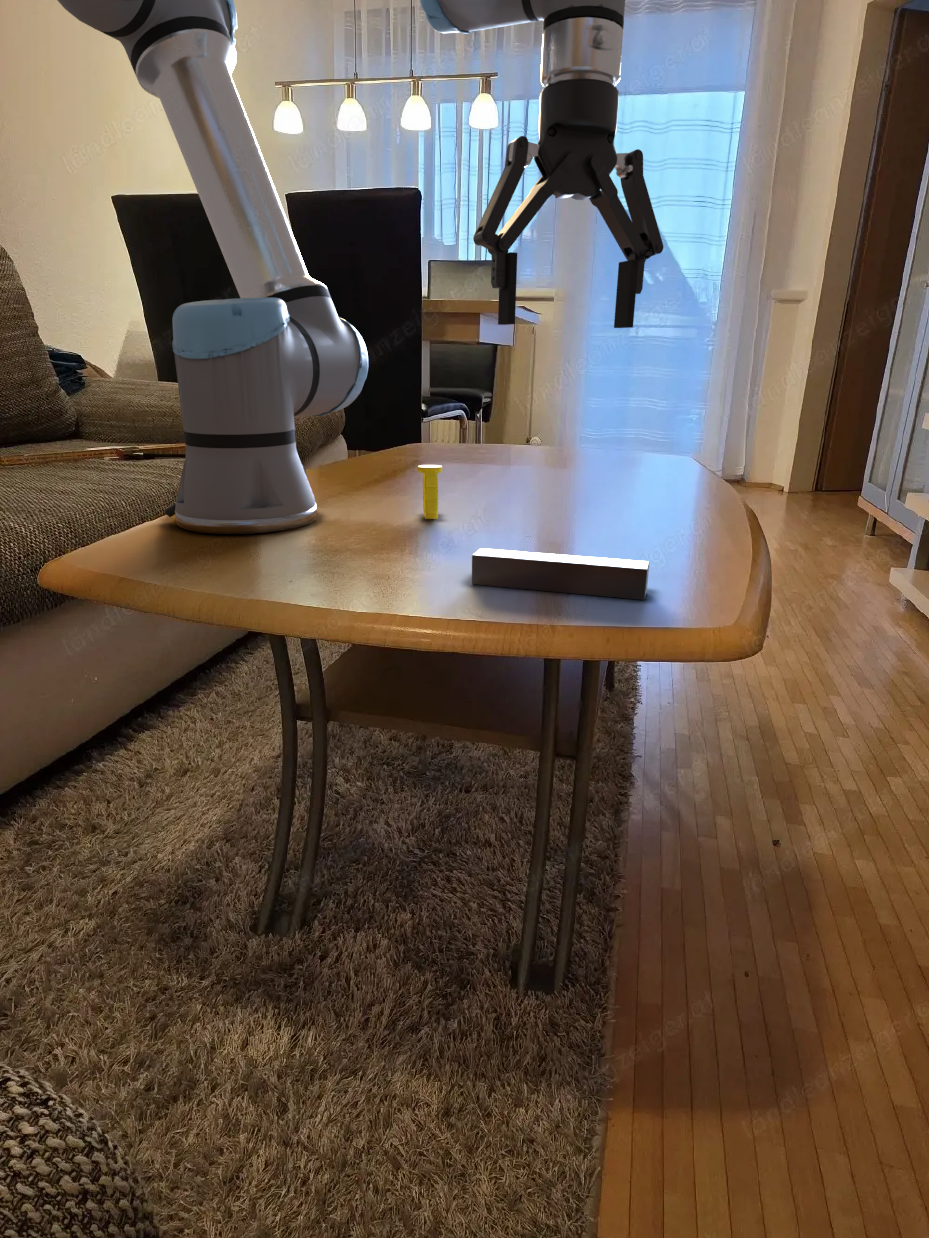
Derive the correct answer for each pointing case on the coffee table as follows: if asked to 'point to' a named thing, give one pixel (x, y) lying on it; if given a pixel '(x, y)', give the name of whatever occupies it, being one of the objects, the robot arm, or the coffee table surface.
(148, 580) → the coffee table surface
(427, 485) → the yellow capped peg
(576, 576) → the walnut stick
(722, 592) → the coffee table surface
